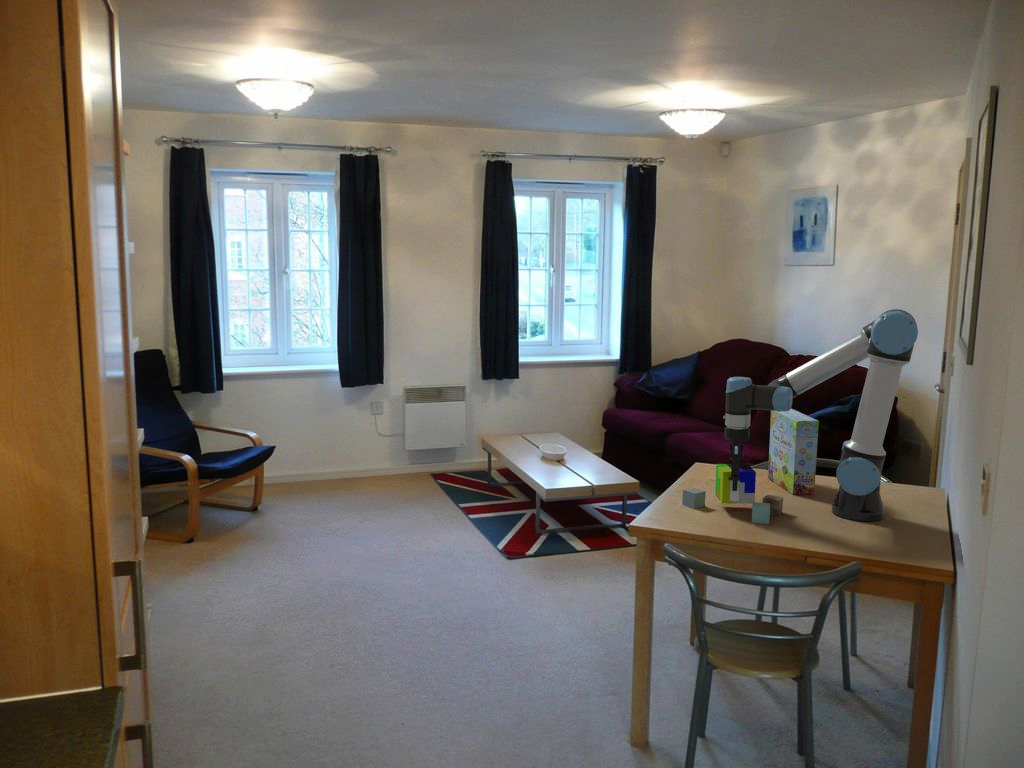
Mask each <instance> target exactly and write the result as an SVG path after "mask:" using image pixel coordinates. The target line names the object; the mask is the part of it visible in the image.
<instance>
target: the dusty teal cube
mask: <svg viewBox="0 0 1024 768" xmlns="http://www.w3.org/2000/svg"><path fill="white" fill-rule="evenodd" d="M770 516H771V515H770V503H763V502H756V501H755V502H753V504H752V510H751V523H753V524H754V523H755V524H764V525H769V524H770Z"/></svg>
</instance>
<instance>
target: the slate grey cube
mask: <svg viewBox="0 0 1024 768" xmlns="http://www.w3.org/2000/svg"><path fill="white" fill-rule="evenodd" d="M706 493H707V492H706V490H705V491H704V490H702V489H699V488H697V487H692V488H691V487H690V488H686V489H682V502H681V505H682V504H683V505H682V506H684V505H685V507H687V506H688V508H691V509H693V510H695V509H700V508H703V507H706V495H707V494H706Z"/></svg>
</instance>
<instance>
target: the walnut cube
mask: <svg viewBox="0 0 1024 768" xmlns="http://www.w3.org/2000/svg"><path fill="white" fill-rule="evenodd" d="M762 503H770V516H773V517H779V516H780V515H781V514H782V513H783V508H784V507H783V505H784V496H777V495H774V494H766V495H765V496H764V497H762Z"/></svg>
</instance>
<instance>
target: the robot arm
mask: <svg viewBox="0 0 1024 768" xmlns="http://www.w3.org/2000/svg"><path fill="white" fill-rule="evenodd" d="M918 334H919V329H918V324H917V321H916V319H915V318H914V316H913V315H912V314H911V313H910V312H908V311H906V310H904V309H898V308H896V309H895V308H894V309H890V310H886V311H883V313H881V314H880V315H879V316H877V318H875V319H874V320H872V321H871V322H869V323H868V324H867V325H865V326H863V327H862V328H861V329H860V332H859V333H857V334H855V335H854V336H852V337H850V338H848V339H847V340H845V341H844V342H841V343H839V344H837V345H836V346H834V347H832V348H831V349H829V350H827V351H825V352H823V353H821V354H820V355H818V356H817V357H814V358H813V359H811V360H809V361H807V362H806V363H803V364H802V365H800V366H798V367H797V368H794V369H793V370H791V371H789V372H787V373H786V374H784V375H782V376H780V377H779V378H776V379H774V380H772V381H770V382H769V383H768V385H760V384H759V385H757V384H753V380H752V379H751V378H750V377H747V376H746V377H745V376H733V377H732V376H731V377H729V378H728V379H727V380H726V390H725V415H723V417H722V418H723V419H724V420H725V421H724V425H725V427H724V439H725V440H728V441H732V443H730V444H729V452H730V460H731V464H732V467H731V478H730V477H729V479H728V480H731V481H730V501H739V485H740V477H739V473H740V464H741V460H742V459H743V453H744V444H742V442H746V441H749V440H750V433H751V429H750V428H749V427H751V411H752V410H760V411H770V412H771V411H777V412H780V411H789V410H790V409H792V406H793V399H794V398H796V397H798V396H799V395H801V394H803V393H804V392H806V391H808V390H810V389H812V388H814V387H816V386H817V385H820V384H821V383H823V382H825V381H827V380H829V379H830V378H833V377H834V376H836V375H838V374H840V373H842V372H843V371H846V370H847V369H849V368H852V366H855V365H857V364H859V363H861V362H863V361H864V360H866V359H868V358H869V366H868V369H867V373H866V377H865V380H864V381H865V382H864V386H863V389H862V394H861V397H860V401H859V406H858V410H857V414H856V417H855V422H854V426H853V430H852V434H851V438H850V439H849V440H845V441H843V443H842V447H841V456H840V459H839V464H838V466H837V468H836V471H835V472H836V473H835V475H836V476H835V477H836V479H837V482H838V485H839V488H838V490H837V492H836V493H835V497H834V499H833V501H832V504H831V513H833V514H834V515H835V516H838V517H840V518H844V519H847V520H851V521H860V522H876V521H877V522H878V521H881V520H883V519H884V516H885V508H884V504H883V500H882V497H881V483H882V482H881V480H882V471H883V467H884V463H885V459H886V455H887V451H885V449H884V446H883V444H884V440H885V437H886V432H887V428H888V425H889V421H890V416H891V414H892V409H893V405H894V401H895V398H896V394H897V390H898V386H899V381H900V378H901V373H902V369H903V367H904V366H906V365H908V364H910V362H911V359H912V354H913V351H914V346H915V343H916V341H917V338H918V336H919V335H918ZM733 475H737V476H733Z"/></svg>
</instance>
